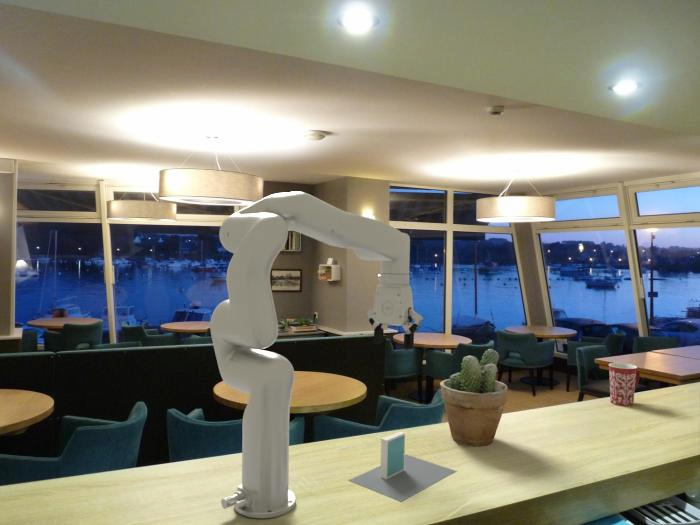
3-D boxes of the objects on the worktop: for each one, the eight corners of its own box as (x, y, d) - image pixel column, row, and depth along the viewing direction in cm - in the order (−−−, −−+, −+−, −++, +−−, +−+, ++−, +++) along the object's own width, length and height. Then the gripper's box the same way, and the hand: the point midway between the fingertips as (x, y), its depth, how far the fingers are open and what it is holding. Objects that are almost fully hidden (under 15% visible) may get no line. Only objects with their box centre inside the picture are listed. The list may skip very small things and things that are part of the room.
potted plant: (496, 456, 141) (498, 360, 140) (428, 443, 150) (430, 352, 149) (513, 436, 157) (515, 349, 156) (451, 424, 166) (453, 343, 165)
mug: (623, 408, 186) (624, 369, 186) (601, 401, 195) (602, 363, 194) (649, 404, 191) (650, 366, 191) (627, 397, 200) (628, 361, 199)
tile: (386, 479, 125) (387, 440, 125) (380, 477, 126) (381, 438, 126) (404, 470, 130) (405, 433, 130) (398, 468, 131) (399, 431, 131)
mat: (401, 503, 114) (401, 501, 114) (348, 482, 124) (348, 480, 124) (456, 472, 130) (456, 471, 130) (405, 455, 140) (405, 454, 140)
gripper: (359, 279, 144) (358, 343, 144) (413, 282, 132) (412, 353, 133) (377, 278, 149) (376, 340, 150) (430, 281, 138) (429, 349, 138)
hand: (393, 346), depth 141 cm, fingers open, 9 cm apart
